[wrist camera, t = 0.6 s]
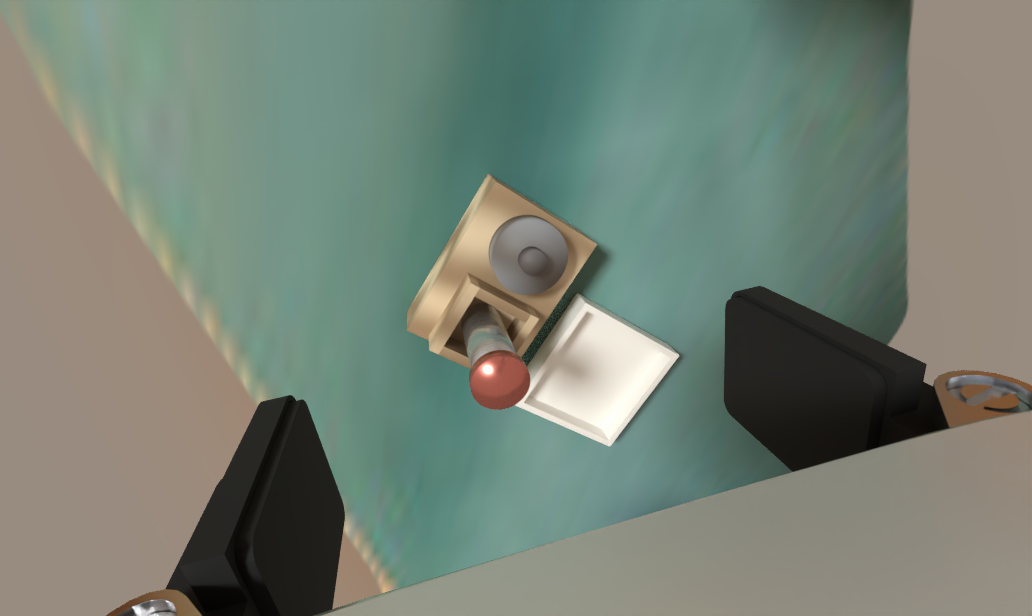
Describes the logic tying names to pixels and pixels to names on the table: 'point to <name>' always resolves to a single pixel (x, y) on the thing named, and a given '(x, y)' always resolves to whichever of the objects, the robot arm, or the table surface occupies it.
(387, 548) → the table surface
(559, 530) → the table surface
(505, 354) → the pin
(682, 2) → the table surface
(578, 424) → the tray
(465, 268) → the wooden base with socket
